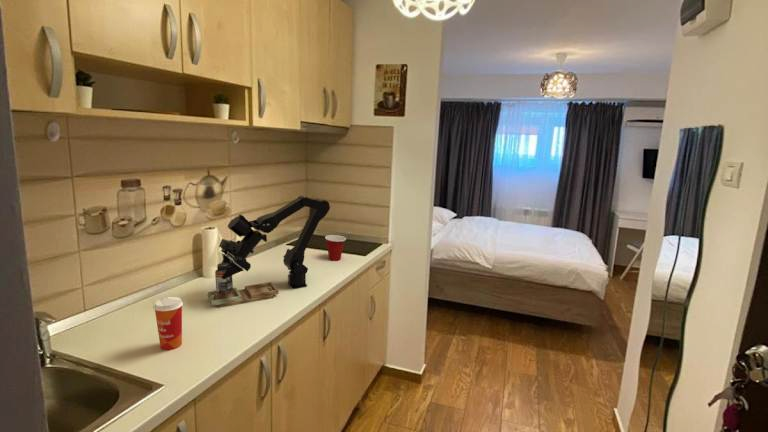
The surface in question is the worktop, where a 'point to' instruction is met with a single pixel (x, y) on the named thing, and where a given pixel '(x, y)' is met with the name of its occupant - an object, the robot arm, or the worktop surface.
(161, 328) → the paper cup
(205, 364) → the worktop surface
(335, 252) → the plastic cup
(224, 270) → the supplement bottle
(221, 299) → the wooden tray
